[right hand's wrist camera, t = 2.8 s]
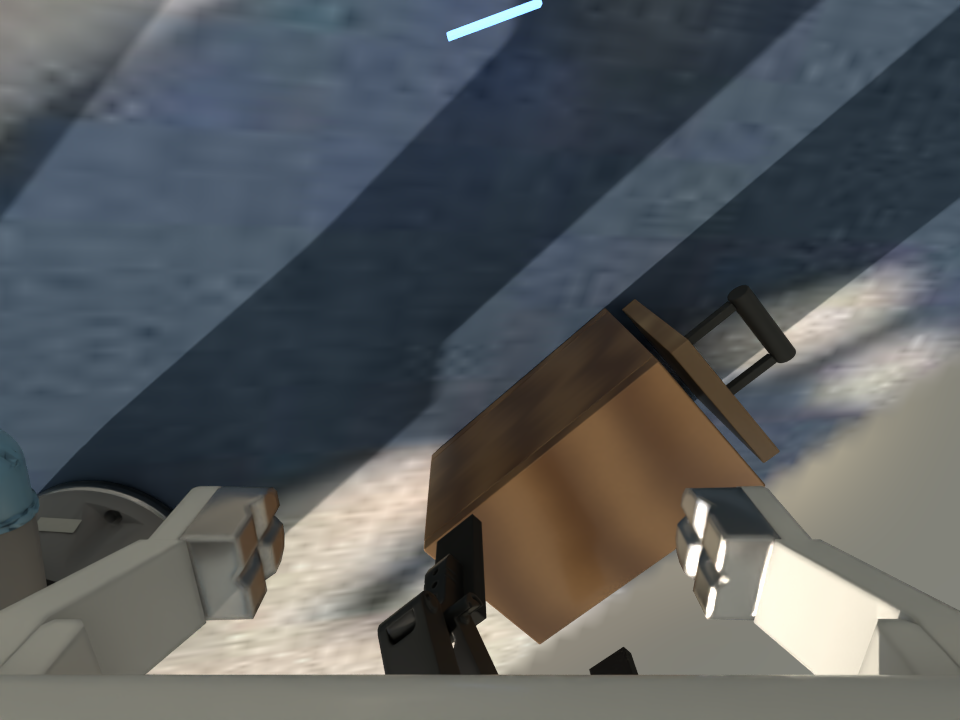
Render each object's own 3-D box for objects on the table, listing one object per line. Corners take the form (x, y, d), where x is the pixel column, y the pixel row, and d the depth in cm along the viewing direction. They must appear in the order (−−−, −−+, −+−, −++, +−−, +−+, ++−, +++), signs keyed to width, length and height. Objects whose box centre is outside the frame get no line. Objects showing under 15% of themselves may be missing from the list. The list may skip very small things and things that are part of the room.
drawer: (694, 248, 37) (768, 275, 28) (768, 345, 40) (856, 397, 31) (465, 441, 42) (467, 516, 33) (545, 516, 45) (567, 603, 36)
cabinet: (604, 307, 40) (659, 361, 29) (689, 405, 43) (766, 486, 32) (431, 455, 43) (423, 550, 33) (520, 534, 47) (539, 645, 36)
